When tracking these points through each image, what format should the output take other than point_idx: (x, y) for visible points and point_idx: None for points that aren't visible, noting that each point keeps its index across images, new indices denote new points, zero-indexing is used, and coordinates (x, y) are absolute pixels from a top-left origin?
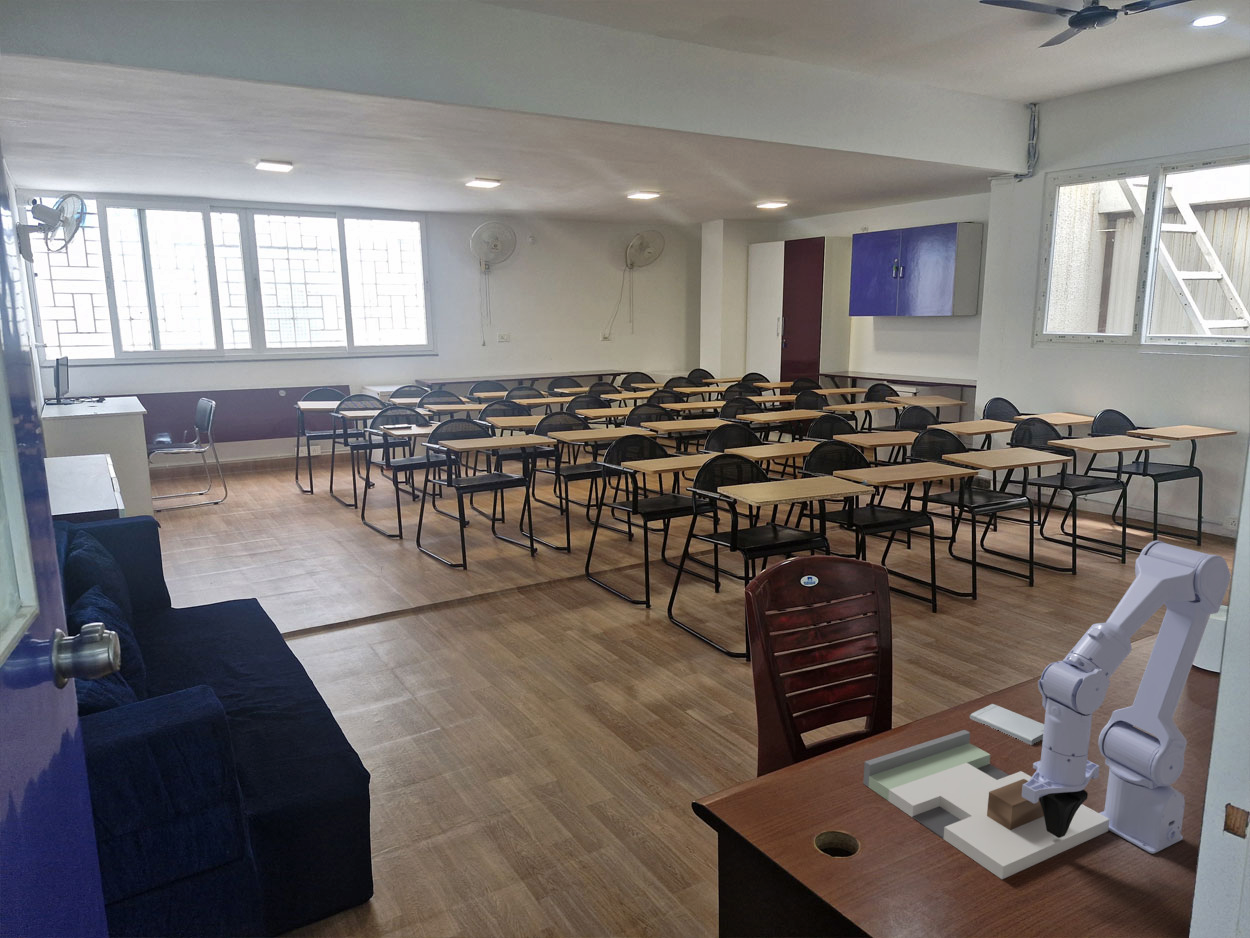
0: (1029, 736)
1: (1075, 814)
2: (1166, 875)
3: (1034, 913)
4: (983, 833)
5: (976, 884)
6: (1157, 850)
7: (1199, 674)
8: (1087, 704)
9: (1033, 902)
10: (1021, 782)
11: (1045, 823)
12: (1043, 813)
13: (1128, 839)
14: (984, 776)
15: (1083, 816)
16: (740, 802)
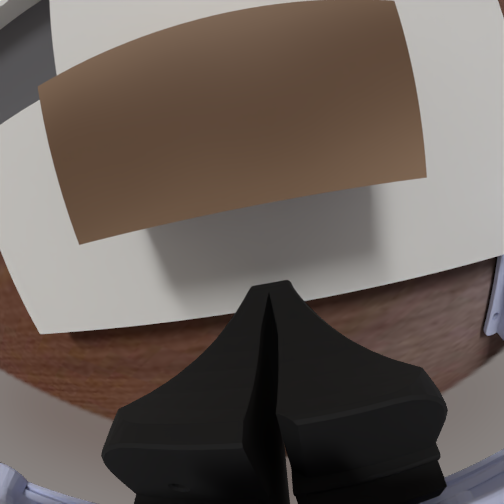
0: None
1: (472, 193)
2: (437, 381)
3: (83, 391)
4: (40, 197)
5: (10, 304)
6: (496, 331)
7: None
8: None
9: (93, 377)
10: (344, 21)
11: (244, 298)
12: (227, 324)
13: (494, 288)
14: None
15: (482, 213)
16: None
